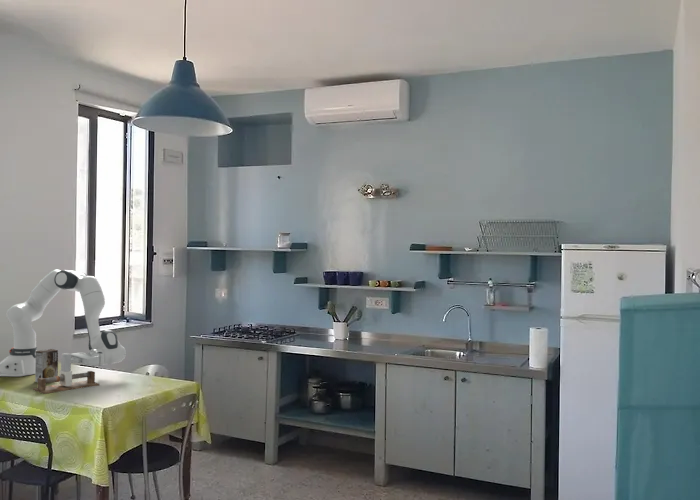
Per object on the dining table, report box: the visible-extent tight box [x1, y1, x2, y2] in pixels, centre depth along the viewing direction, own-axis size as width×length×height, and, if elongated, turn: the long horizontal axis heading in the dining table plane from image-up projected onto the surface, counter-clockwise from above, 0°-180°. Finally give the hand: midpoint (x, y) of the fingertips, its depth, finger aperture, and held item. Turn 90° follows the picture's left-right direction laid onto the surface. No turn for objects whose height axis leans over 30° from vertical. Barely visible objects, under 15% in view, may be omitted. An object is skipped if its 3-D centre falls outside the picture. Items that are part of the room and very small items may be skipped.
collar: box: [59, 352, 73, 386], centre depth 322 cm, size 3×7×16 cm, turn 49°
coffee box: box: [34, 348, 59, 383], centre depth 336 cm, size 9×6×16 cm
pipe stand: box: [32, 370, 100, 395], centre depth 322 cm, size 28×12×6 cm, turn 139°
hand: (69, 360), depth 323 cm, fingers closed, pressing on collar
